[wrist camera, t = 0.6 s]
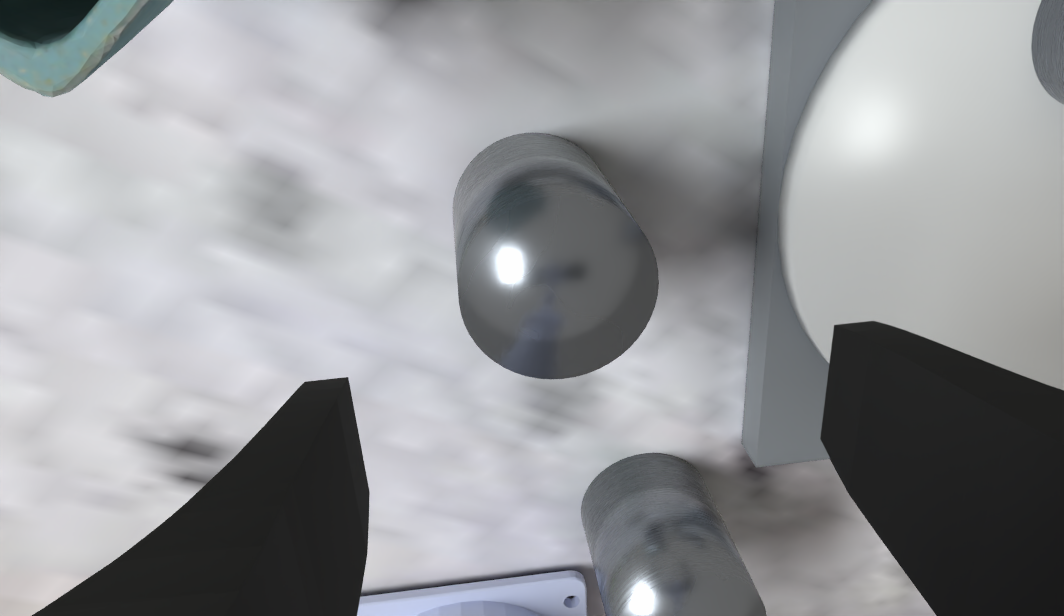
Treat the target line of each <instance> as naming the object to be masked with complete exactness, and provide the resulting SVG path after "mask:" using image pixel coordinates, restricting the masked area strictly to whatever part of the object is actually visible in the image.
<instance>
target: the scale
mask: <svg viewBox="0 0 1064 616" xmlns="http://www.w3.org/2000/svg"><path fill="white" fill-rule="evenodd" d="M1041 1H1042V0H775V5H774V18H773V31H772V45H771V58H770V71H769V85H768V98H767V111H766V124H765V138H764V151H763V164H762V178H761V191H760V204H759V217H758V231H757V244H756V257H755V271H754V284H753V297H752V311H751V324H750V337H749V350H748V364H747V377H746V390H745V404H744V417H743V430H742V445H743V447H744V448H745V450H746V452H747V453H748V455H749V457H750V458H751V460H752V462H753V463H754V465H755V467H765V466H773V465H782V464H790V463H799V462H807V461H816V460H824V459H830V457H829V455H828V453H827V451H826V449H825V447H824V445H823V443H822V441H821V439H820V436H821V428H822V420H823V412H824V404H825V395H826V387H827V379H828V371H829V363H830V355H831V346H832V338H833V330H834V325H838V324H848V323H857V322H866V321H877V322H880V323H884V324H888V325H891V326H894V327H897V328H900V329H903V330H906V331H909V332H911V333H914V334H917V335H919V336H922V337H925V338H927V339H930V340H933V341H935V342H938V343H940V344H943V345H945V346H948V347H950V348H953V349H955V350H958V351H961V352H963V353H966V354H968V355H971V356H973V357H976V358H978V359H981V360H983V361H986V362H988V363H991V364H994V365H996V366H999V367H1001V368H1004V369H1006V370H1009V371H1012V372H1014V373H1017V374H1020V375H1022V376H1025V377H1028V378H1030V379H1033V380H1036V381H1038V382H1041V383H1044V384H1047V385H1049V386H1052V387H1055V388H1058V389H1061V390H1064V104H1062V103H1060V102H1058V101H1057V100H1055V99H1054V98H1053V97H1051V96H1050V95H1049V94H1048V93H1047V91H1046V90H1045V89H1044V88H1043V86H1042V85H1041V83H1040V82H1039V80H1038V77H1037V75H1036V72H1035V69H1034V65H1033V61H1032V51H1031V44H1032V32H1033V26H1034V22H1035V18H1036V14H1037V11H1038V8H1039V6H1040V3H1041Z"/></svg>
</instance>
